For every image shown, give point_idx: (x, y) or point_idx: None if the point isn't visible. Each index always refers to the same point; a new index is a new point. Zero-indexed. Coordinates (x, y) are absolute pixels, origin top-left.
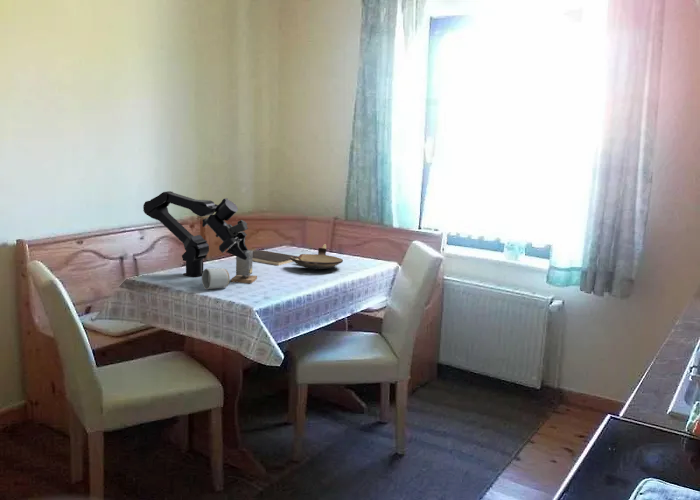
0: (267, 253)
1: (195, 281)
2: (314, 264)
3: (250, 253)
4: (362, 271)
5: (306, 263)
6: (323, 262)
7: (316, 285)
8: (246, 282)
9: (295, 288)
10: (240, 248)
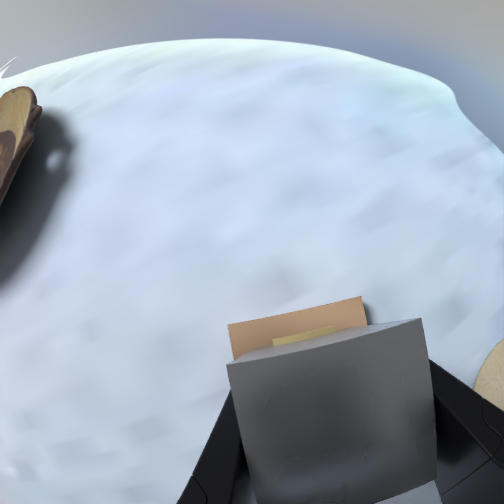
0: None
1: None
2: (39, 116)
3: (345, 338)
4: (27, 79)
5: (33, 139)
6: (32, 96)
7: (230, 55)
8: None
9: (320, 86)
10: (481, 438)
